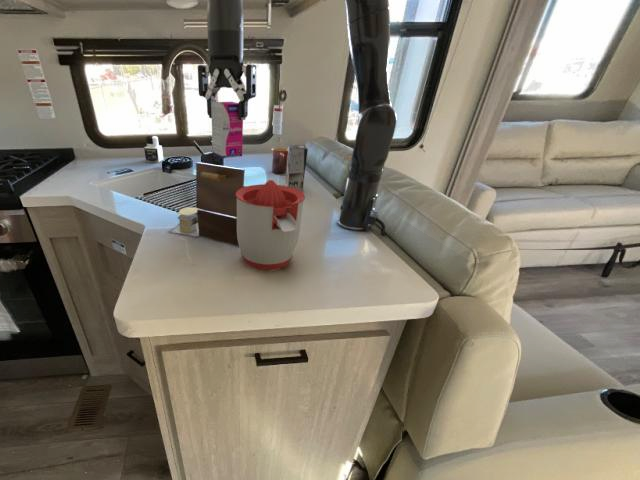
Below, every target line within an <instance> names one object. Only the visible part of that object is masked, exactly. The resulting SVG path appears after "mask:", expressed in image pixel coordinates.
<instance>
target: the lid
mask: <svg viewBox="0 0 640 480" xmlns="http://www.w3.org/2000/svg"><path fill="white" fill-rule="evenodd" d="M195 169H196V170H195V178H196V179H195V208H198V209H202V210H206V211H211V212H215V213H220V214H224V215H229V216H233V217H237V197H236V192H237V191H238V190H239V189H241V188H244V187H245V186H244V184H245V173H246V172H245V171H246V169H244V168H239V167H238V168H237V167H231V166H226V165H219V164H218V165H217V164H212V163H205V162H196V163H195Z"/></svg>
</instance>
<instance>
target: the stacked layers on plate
mask: <svg viewBox="0 0 640 480" xmlns="http://www.w3.org/2000/svg"><path fill="white" fill-rule="evenodd" d="M197 210H198V208H196V206H195V207H191V206H186V207H183V208H181V209H180V210H179V211H178V212H177V215H178V214H179V215H178V216H177V220H178V221H179V223H178V224H177V225H178V226H176V227H175V228H173V229H172V230H170V231H169V233H174V234H180V235H186V236H190V237H198V236H199V228H198V213H197Z"/></svg>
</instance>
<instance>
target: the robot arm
mask: <svg viewBox="0 0 640 480" xmlns="http://www.w3.org/2000/svg"><path fill="white" fill-rule="evenodd" d="M344 3H345V4H344V5H345V12H346V25H347V26H346V27H347V28H346V29H347V37H348V46H349V52H350V56H351V64H352V67H353V71H354V76H355V80H356V85H357V102H358V103H357V105H358V106H357V111H358V112H357V129H356V134H355V139H354V145H353V148H352V152H351V153H352V154H351V157H350V162H349V167H348V172H347V178H346V183H345V187H344V194H343V198H342V204H341V205H340V208H339V209H340V210H339V211H340V214H339V216H338V217H339V218H338V225H339V226H340V227H342V228H343V229H347V230H350V231H365V232H366V231H367V230H368V229H369V228H370V226H374V225H375V224H376V222H377V223H378V224H379V225H380V227H381V229H380V234H381V235H382V236H386V234H387V232H386V231H385V230H386V225H385V222H383V220H381V219H380V218H379V212H377V211H375V208H376V204H377V200H378V196H379V195H378V192H379V187H380V184H381V181H382V176H383V172H384V168H385V164H386V161H387V159H388V157H389V153H390V149H391V146H392V142H393V138H394V134H395V131H396V127H397V113H396V111H395V110H394V108H393V107H392V102H391V97H390V91H389V90H390V88H389V81H388V71H389V70H388V69H389V60H390V48H391V17H390V15H391V14H390V2H389V0H344ZM243 4H244V3H243V0H207V6H206V7H207V9H206V24H207V25H206V26H207V28H206V29H207V49H208V50H207V51H208V52H207V53H208V58H209V65H207V64H198V65H197V83H198V86H197V87H198V95H199V97H203V98H205V100H206V110H207V111H206V113H207V116H208V118H209V119H212V114H211V102H217V100H216V99H215V98H216V96H217V94H218V92H220V90H221V88H222V89H223V88H226V89H232V90H233V92H234V93H235V94H236V96H237V97H238V100H239V101H238V103H239V120H243V121H245V120H246V119H247V117H248V114H249V112H248V111H249V101H250V100H252V99H253V98H256V97H257V66H256V64H247V65H244V62H243V59H244V34H245V33H244V32H245V31H244V27H245V26H244V23H245V21H244V19H245V16H244V5H243ZM243 75H244V77H245V83H244V81H243V79H242V76H243ZM209 76H211V79H210V80H209Z"/></svg>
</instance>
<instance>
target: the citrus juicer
mask: <svg viewBox="0 0 640 480" xmlns="http://www.w3.org/2000/svg"><path fill="white" fill-rule="evenodd" d="M236 197H237V239H238V245H239V246H238V248H239V252H240V255H241V258H242V260H243V262H244V264H246V265H247V266H249V267H250V268H252V269H256V270H258V271H277V270H280V269H283V268H285V267H286V266H287V265H288V264H289V263H290V261H291V260H292V258H293V256H294V253H295V251H296V248H297V245H298V241H299V237H300V232H301V231H300V230H301V223H302V215H303V207H304V201H305V199H306V196H305V193H304V192H303V191H302V192H301V191H300V190H298V189H295V188H292V187H288V186H285V185H281V184H277V183H276V181H274V180H273V179H269V180H267V181H266V182H265V183H264V184H253V185H247V186H244V188H241V189H239V190H238V191H237V192H236Z"/></svg>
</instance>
